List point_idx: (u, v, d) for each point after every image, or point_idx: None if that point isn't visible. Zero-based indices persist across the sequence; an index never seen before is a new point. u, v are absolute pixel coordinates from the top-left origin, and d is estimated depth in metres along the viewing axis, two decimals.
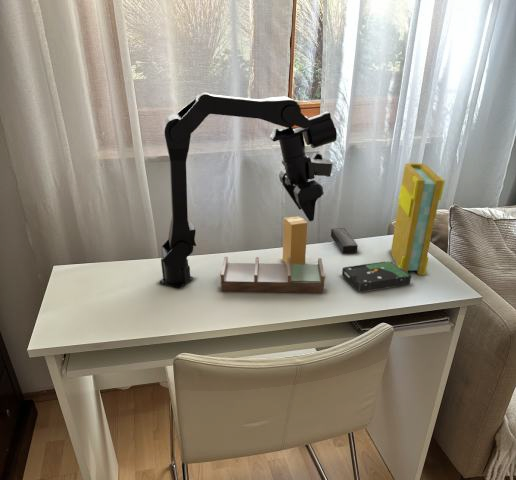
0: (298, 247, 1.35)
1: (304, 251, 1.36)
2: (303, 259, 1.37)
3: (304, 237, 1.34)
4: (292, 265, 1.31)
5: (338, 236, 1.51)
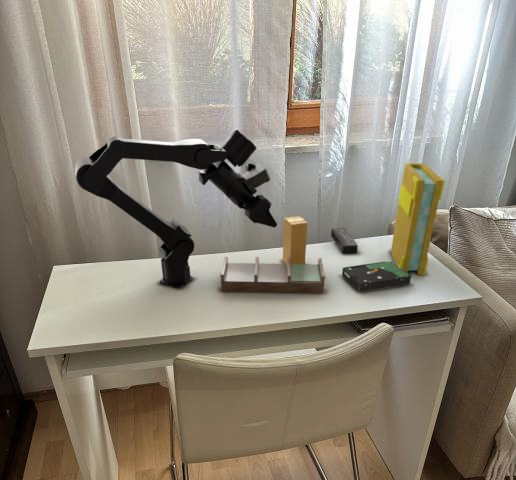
0: (298, 247, 1.35)
1: (304, 251, 1.36)
2: (303, 259, 1.37)
3: (304, 237, 1.34)
4: (292, 265, 1.31)
5: (338, 236, 1.51)
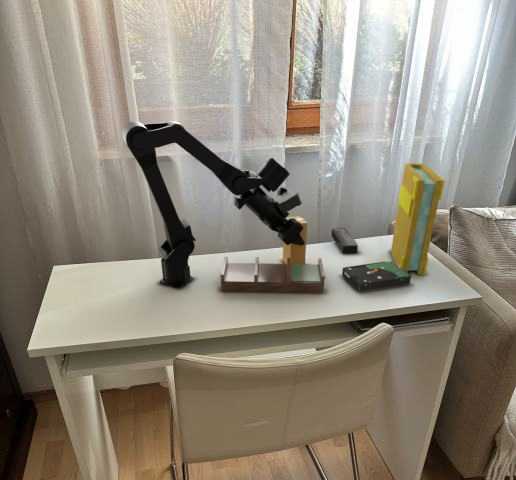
0: (298, 247, 1.35)
1: (304, 251, 1.36)
2: (303, 259, 1.37)
3: (304, 237, 1.34)
4: (292, 265, 1.31)
5: (338, 236, 1.51)
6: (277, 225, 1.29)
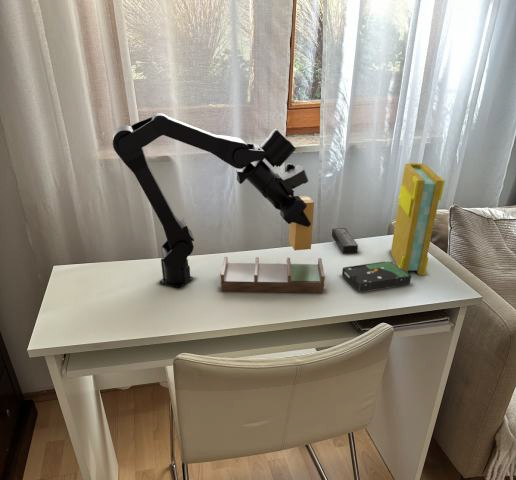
0: (304, 228, 1.27)
1: (310, 233, 1.29)
2: (309, 241, 1.30)
3: (310, 218, 1.26)
4: (292, 265, 1.31)
5: (339, 236, 1.51)
6: (281, 203, 1.22)
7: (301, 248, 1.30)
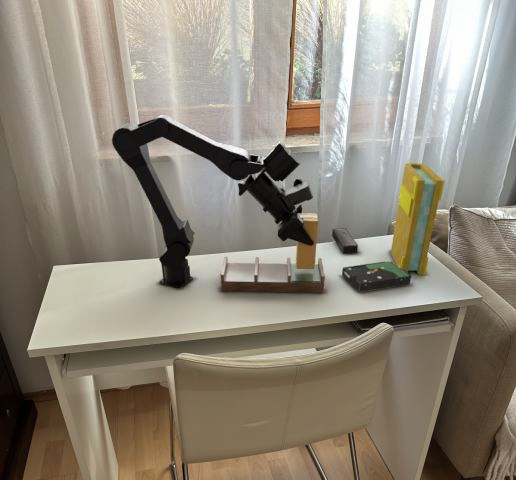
0: (306, 247, 1.21)
1: (314, 252, 1.22)
2: (312, 261, 1.23)
3: (314, 237, 1.20)
4: (292, 265, 1.31)
5: (339, 236, 1.51)
6: (282, 219, 1.17)
7: (304, 267, 1.24)
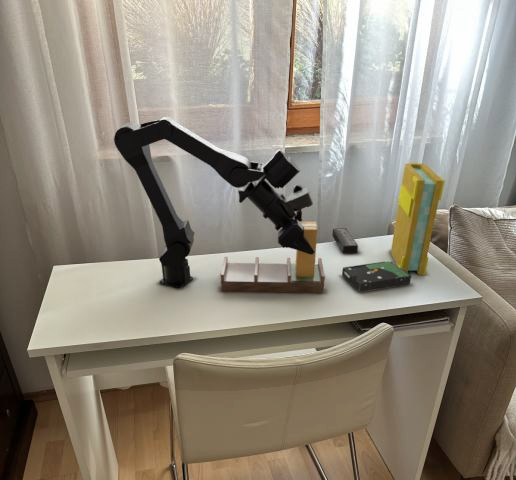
0: (306, 255, 1.22)
1: (313, 261, 1.23)
2: (312, 269, 1.24)
3: (313, 245, 1.21)
4: (292, 265, 1.31)
5: (339, 236, 1.51)
6: (282, 225, 1.18)
7: (303, 275, 1.25)
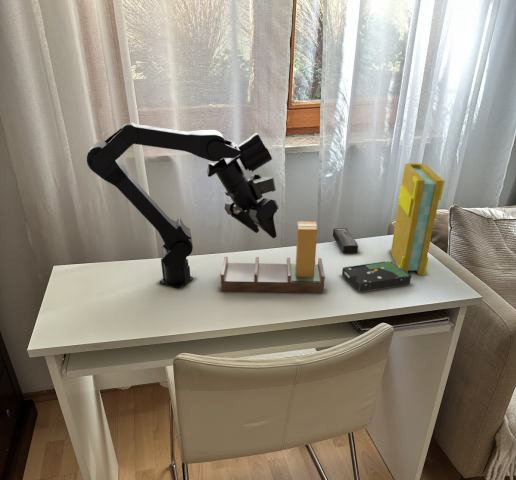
0: (306, 255, 1.22)
1: (313, 261, 1.23)
2: (312, 269, 1.24)
3: (313, 245, 1.21)
4: (292, 265, 1.31)
5: (339, 236, 1.51)
6: (248, 206, 1.20)
7: (303, 275, 1.25)
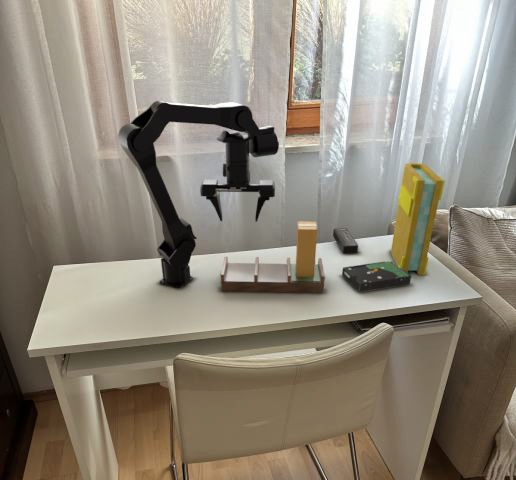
0: (306, 255, 1.22)
1: (313, 261, 1.23)
2: (312, 269, 1.24)
3: (313, 245, 1.21)
4: (292, 265, 1.31)
5: (339, 236, 1.51)
6: (248, 184, 1.25)
7: (303, 275, 1.25)
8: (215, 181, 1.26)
